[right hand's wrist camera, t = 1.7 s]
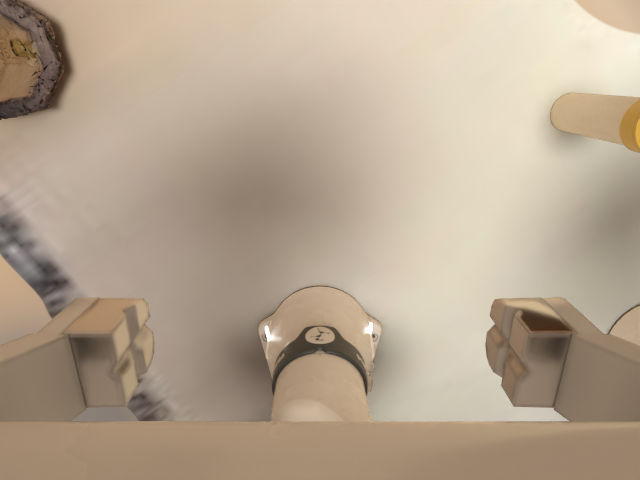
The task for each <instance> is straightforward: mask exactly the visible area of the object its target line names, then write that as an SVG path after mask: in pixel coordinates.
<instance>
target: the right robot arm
mask: <svg viewBox="0 0 640 480" xmlns="http://www.w3.org/2000/svg"><path fill="white" fill-rule="evenodd" d="M149 317H150V312H149V307H148V303H147V302H146V301H145V300H144V299H135V298H100V297H95V298H76V299H75V300H73V301H72V302H71V303H70V304H69V305H68V306H67V307H66V308H65V309H63V310H62V311H61V312H60V313H59V314H58V315H57V316H56V317H55V318H53V319H52V320H51V321H50V322H49V323H48V324H47V325H46V326H45V327H43V328H42V329H41V330H40V331H39V332H38V333H37V334H28V335H26V336H23V337H21V338H18V339H16V340H13V341H11V342H8V343H6V344H3V345H1V346H0V480H640V346H639V345H637V344H634V343H632V342H629V341H627V340H624V339H622V338H619V337H617V336H614V335H612V334H603V333H602V332H601V331H600V330H599V329H598V328H597V327H596V326H594V325H593V324H592V323H591V322H590V321H589V320H588V319H587V318H586V317H584V316H583V315H582V314H581V313H580V312H579V311H578V310H577V309H576V308H574V307H573V306H572V305H571V304H570V303H569V302H568V301H567V300H566V299H563V298H560V297H555V298H510V299H496V300H494V302H493V304H492V306H491V312H490V317H491V318H492V320H493V321H494V323H495V325H494V326H493V327H492V328H491V329H490V330H489V331H488V332H487V337H486V355H487V359H488V362H489V365H490V367H491V369H492V370H493V372H494V373H496V374H497V375H499V376H501V377H502V384H501V386H502V388H503V389H504V391H505V393H506V394H507V396H508V398H509V399H510V401H511V403H512V404H513V406H514V407H548V408H554V410H555V411H557V412H558V413H559V414H561V415H562V416H563V417H565V418H566V419H567V420H569V421H570V422H372V420H371V416H370V412H369V408H368V403H367V398H366V396H367V392H370V391H371V389H372V377H371V376H369V374H370V372H373V371H374V363H373V360H374V357H375V353H376V350H377V346H378V343H379V339H380V336H381V332H382V326H381V324H380V323H379V322H378V321H377V320H376V319H374V318H372V317H371V316H369V315H367V314H366V313H365V312H364V310H363V309H362V308H361V306H360V305H359V304H358V302H357V301H356V300H355V299H354V298H352V297H351V296H350V295H348V294H347V293H345V292H343V291H341V290H338V289H335V288H331V287H321V286H319V287H309V288H305V289H302V290H299V291H297V292H295V293H293V294H292V295H290V296H289V297H288V298H286V299H285V300H284V301H283V302H282V304H281V305H280V306H279V308H278V309H277V310H276V312H275V313H274V314H273V315H271V316H269V317H268V318H266V319H264V320H263V321H262V322H261V323H260V324H259V326H258V332H259V336H260V339H261V343H262V346H263V350H264V353H265V356H266V360H267V363H268V367H269V370H270V374H271V377H272V381H273V382H272V391H273V396H274V399H273V406H272V413H271V421H270V422H236V421H71V420H73V419H74V418H75V417H77V416H78V415H79V414H81V413H82V412H84V411H85V410H86V408H92V407H126V406H127V404H128V403H129V401H130V399H131V398H132V396H133V394H134V393H135V391H136V389H137V388H138V386H139V384H138V377H139V376H141V375H143V374H144V373H146V372H147V370H148V369H149V367H150V365H151V363H152V358H153V354H154V336H153V332H152V331H151V330H150V329H149V328H148V327H147V326H146V325H145V323H146V321H147V320H148V318H149ZM372 334H374V336H372ZM266 335H267V336H266Z"/></svg>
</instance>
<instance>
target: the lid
mask: <svg viewBox="0 0 640 480" xmlns="http://www.w3.org/2000/svg"><path fill="white" fill-rule="evenodd" d="M619 133H620V138H621V141H622V142H623V144H624V145H625V146H626V147H627V148H628V149H630V150H632V151H634V152H639V153H640V99H639V100H638V101H636V102H635V103H633V104H632V105H631V106H630V107H629V108H628V110H627V111H626V112H625V114H624V116H623V118H622V120H621V123H620V130H619Z"/></svg>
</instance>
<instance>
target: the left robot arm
mask: <svg viewBox="0 0 640 480" xmlns="http://www.w3.org/2000/svg"><path fill="white" fill-rule="evenodd" d="M609 334H612V335H614V336H617V337H619V338H622V339H624V340H627V341H629V342H632V343H634V344H637V345H639V346H640V306H637V307H636V308H634V309H632V310H631V311H629V312H628V313H626V314H625V315H624V316H623V317H622V318H621V319H620V320H619V321H618V322H617V323H616V324H615V325H614V327H613V328H612V330H611V331H610V333H609Z"/></svg>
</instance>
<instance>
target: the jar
mask: <svg viewBox="0 0 640 480" xmlns="http://www.w3.org/2000/svg"><path fill="white" fill-rule="evenodd" d="M639 99H640V97H627V96H612V95H598V94H583V93H568V94H565V95H563V96H562V97H560V98H559V99H558V100H557V101H556V102H555V103H554V105H553V107H552V110H551V115H550V116H551V122H552V124H553V125H554V127H555V128H557V129H558V130H561V131H565V132H570V133H574V134H578V135H583V136H587V137H591V138H596V139H600V140H605V141H609V142H613V143H618V144H622V145H624V144H623V142H622V141H621V138H620V133H619V130H620V123H621V120H622V118H623V116H624V114H625V112H626V111H627V110H628V108H629V107H630V106H631V105H632V104H633V103H635V102H636V101H638V100H639Z"/></svg>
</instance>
